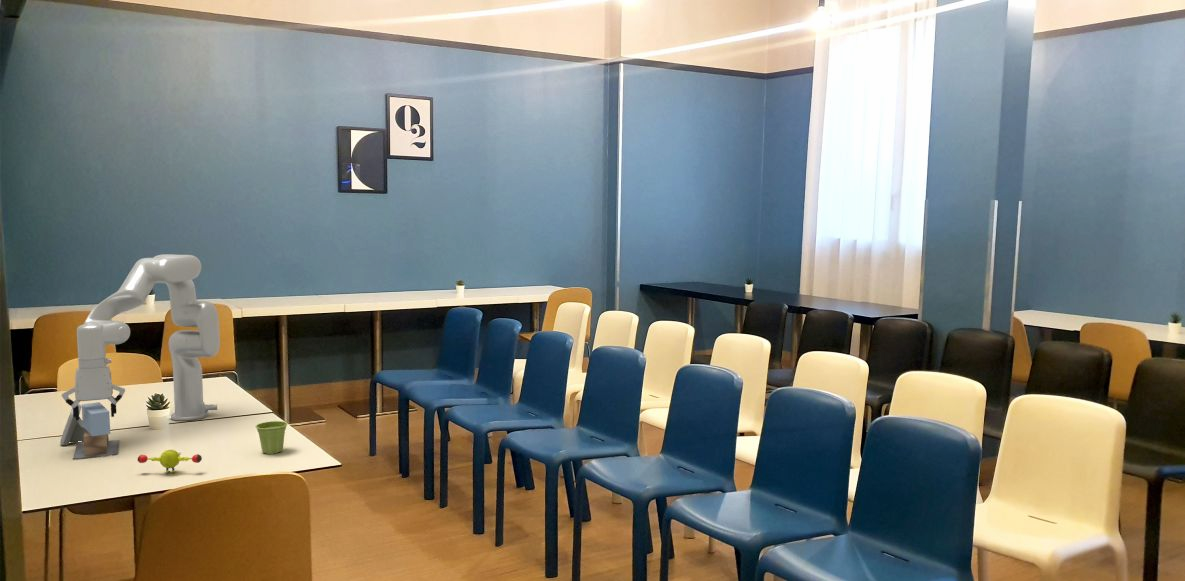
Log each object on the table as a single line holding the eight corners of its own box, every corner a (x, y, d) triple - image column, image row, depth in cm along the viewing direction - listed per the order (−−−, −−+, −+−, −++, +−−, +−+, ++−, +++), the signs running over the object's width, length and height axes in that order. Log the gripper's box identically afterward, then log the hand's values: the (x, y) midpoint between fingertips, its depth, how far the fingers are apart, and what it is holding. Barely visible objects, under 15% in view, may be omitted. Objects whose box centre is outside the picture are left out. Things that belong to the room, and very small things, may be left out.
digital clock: (65, 434, 296) (63, 403, 295) (95, 432, 299) (93, 401, 298) (49, 447, 281) (47, 414, 280) (81, 445, 283) (79, 413, 282)
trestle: (119, 440, 289) (118, 421, 288) (117, 454, 273) (116, 434, 272) (76, 445, 283) (75, 425, 283) (72, 459, 267) (71, 439, 267)
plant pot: (254, 456, 271) (254, 429, 270) (257, 448, 280) (257, 421, 279) (287, 454, 274) (286, 427, 273) (289, 446, 283) (288, 420, 282)
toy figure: (206, 469, 258) (205, 447, 258) (198, 475, 253) (197, 452, 252) (143, 470, 258) (142, 447, 257) (134, 475, 252) (133, 452, 251)
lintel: (100, 423, 285) (99, 402, 285) (110, 433, 273) (109, 411, 272) (82, 425, 282) (81, 404, 282) (92, 436, 270) (90, 413, 269)
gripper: (124, 359, 283) (126, 412, 284) (61, 363, 275) (64, 418, 277) (123, 363, 276) (126, 417, 278) (59, 368, 268) (62, 423, 270)
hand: (95, 417), depth 277 cm, fingers open, 9 cm apart
